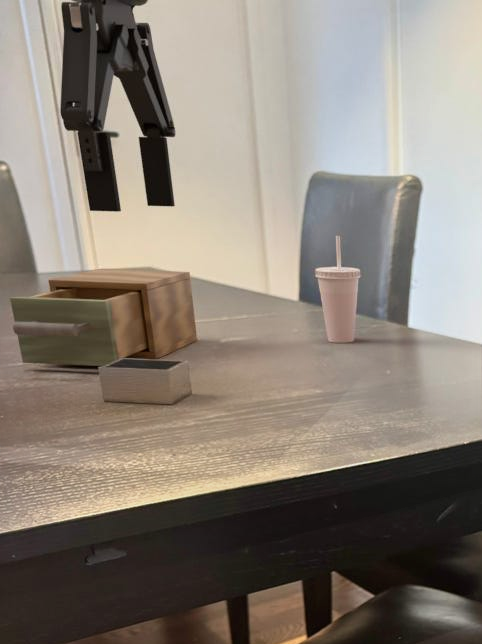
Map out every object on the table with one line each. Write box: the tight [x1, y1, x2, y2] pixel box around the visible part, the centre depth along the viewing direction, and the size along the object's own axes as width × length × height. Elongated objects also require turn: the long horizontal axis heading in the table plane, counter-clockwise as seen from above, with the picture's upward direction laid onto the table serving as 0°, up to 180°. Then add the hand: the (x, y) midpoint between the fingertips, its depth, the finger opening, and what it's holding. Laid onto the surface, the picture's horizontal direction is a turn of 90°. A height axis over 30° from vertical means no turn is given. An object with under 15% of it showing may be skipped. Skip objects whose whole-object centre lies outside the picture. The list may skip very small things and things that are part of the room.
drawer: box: [9, 287, 149, 367], centre depth 110 cm, size 18×11×7 cm, turn 175°
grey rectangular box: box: [97, 358, 193, 406], centre depth 97 cm, size 8×6×4 cm
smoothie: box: [314, 235, 362, 344], centre depth 129 cm, size 6×6×14 cm
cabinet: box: [47, 268, 198, 359], centre depth 121 cm, size 15×13×9 cm
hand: (135, 208), depth 92 cm, fingers open, 13 cm apart
